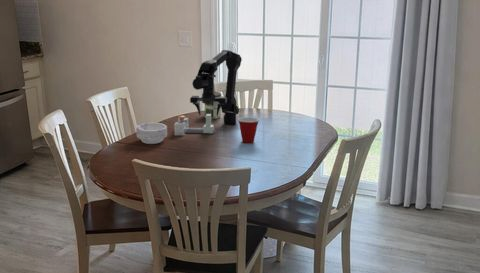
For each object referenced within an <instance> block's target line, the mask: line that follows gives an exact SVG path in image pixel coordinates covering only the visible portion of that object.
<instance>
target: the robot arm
mask: <svg viewBox="0 0 480 273" xmlns="http://www.w3.org/2000/svg"><path fill="white" fill-rule="evenodd" d="M242 60H243V59H242V56H241V55H240V54H238V53H235V52H233V51H232V50H230V49H222V50H221V51H220V52H219V53H218V54H216V55H215V56H214V57H213V58H212V59H208V60H206V61H203V62H202V63H201V64H200V66H199V70H198V71H197V75H196V76H195V78H194V79H193V80H192V84H191V85H192V87H193V89H195V91H196V90H197V91H198V90H202V94H201V97H200V96H199V95H192V96H190V98H189V103H190V104H192V105H194V106H195V107H196V109H197V112H198V114H199V116H201V112H202V111H201V103H202V104H205V103H209V104H210V103H211V102H218V107H217V116H218V113H219V110H220V107H221V114H224V115H223V123H224V125H226V126H227V125H228V126H229V125H230V126H236V124H237V121H238V120H237V115H239V113H240V108H239V106H238V105H237V98H236V97H235V92H236V83H237V82H236V81H237V75H238V74H237V71H238V70H239V69H240V67H241V64H242ZM224 62H225V67H227V68H226V69H227V80H226V86H225V95H224V96H222V95H221V96H219V98H216V97H215V94H214V92H215V78H216V77H217V75H216V74H215V73H216V72H217V71H218V67H219V66H220V65H221V64H223V63H224Z"/></svg>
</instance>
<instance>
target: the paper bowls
mask: <svg viewBox="0 0 480 273" xmlns="http://www.w3.org/2000/svg"><path fill="white" fill-rule="evenodd" d="M135 129H136V130H135V134H136V138H138V139H140V140H141V142H142V143H144V144H146V145H147V144H148V145H155V144H159V143H162V142H163V140H164V139H165V138H167V136H168V126H167V125H166V124H164V123H161V122H146V123H140V124H138V125H136V127H135Z"/></svg>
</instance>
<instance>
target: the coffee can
mask: <svg viewBox="0 0 480 273" xmlns="http://www.w3.org/2000/svg"><path fill="white" fill-rule="evenodd" d="M214 94H215V97H216V98H219V96H222V93H221V92H218V91H214ZM217 107H218V102H211V103H210V104H209V103H204V115H203V116H204V118H206V114H211V120H212V119H213V120H214V119H219V118H221V117H222V109H221V107H220V110H219V113H218V116H217Z"/></svg>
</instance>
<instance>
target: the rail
mask: <svg viewBox="0 0 480 273" xmlns="http://www.w3.org/2000/svg"><path fill="white" fill-rule="evenodd" d="M187 133H188V134H190V133H191V134H204V133H203V127H189V128H187V132H186V134H187ZM211 134H215V127H214V128H213V133H211Z"/></svg>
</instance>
